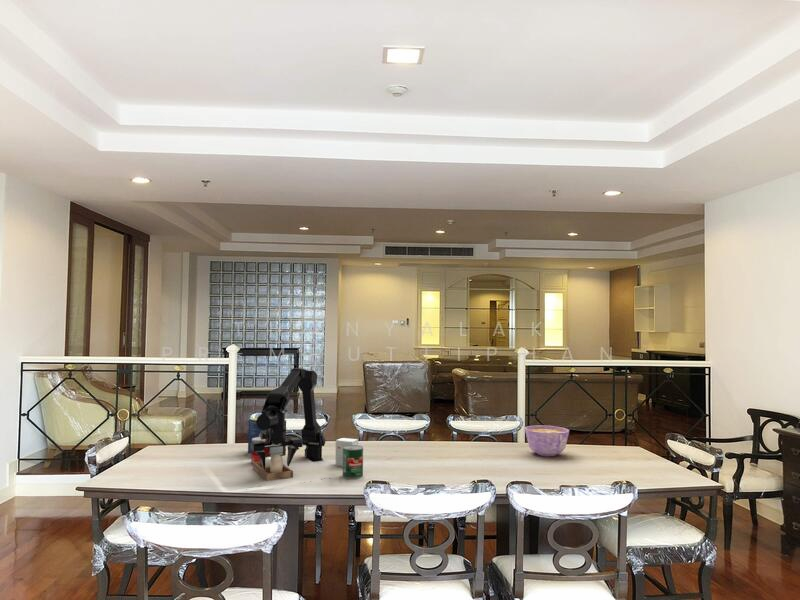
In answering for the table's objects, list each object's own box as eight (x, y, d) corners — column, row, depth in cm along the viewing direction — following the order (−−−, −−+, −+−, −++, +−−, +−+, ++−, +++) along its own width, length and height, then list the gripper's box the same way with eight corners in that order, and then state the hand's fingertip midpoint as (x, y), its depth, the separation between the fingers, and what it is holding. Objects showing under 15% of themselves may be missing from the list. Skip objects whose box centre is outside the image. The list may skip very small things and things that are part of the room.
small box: (358, 464, 232) (358, 439, 233) (351, 467, 227) (352, 441, 228) (341, 462, 236) (342, 437, 236) (335, 465, 231) (335, 439, 231)
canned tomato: (352, 472, 220) (353, 444, 220) (367, 475, 215) (367, 447, 215) (338, 476, 214) (338, 447, 214) (352, 480, 209) (353, 450, 209)
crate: (277, 468, 224) (277, 459, 224) (292, 480, 207) (292, 471, 207) (252, 471, 219) (253, 462, 219) (266, 483, 202) (267, 474, 202)
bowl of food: (575, 459, 245) (574, 433, 246) (529, 459, 246) (529, 432, 246) (562, 450, 265) (562, 425, 266) (520, 449, 266) (520, 425, 266)
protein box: (267, 449, 259) (267, 416, 260) (286, 455, 249) (286, 420, 250) (247, 453, 252) (248, 418, 253) (265, 458, 241) (266, 422, 242)
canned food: (265, 468, 224) (266, 440, 225) (247, 467, 226) (248, 439, 227) (273, 464, 232) (274, 437, 233) (256, 462, 234) (256, 436, 234)
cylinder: (280, 473, 212) (280, 452, 212) (283, 476, 208) (284, 455, 208) (268, 475, 210) (268, 453, 210) (271, 477, 206) (272, 456, 206)
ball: (273, 467, 221) (273, 455, 221) (276, 470, 216) (277, 457, 217) (260, 469, 218) (260, 456, 219) (264, 472, 214) (264, 459, 214)
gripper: (294, 420, 221) (293, 460, 221) (246, 424, 212) (245, 465, 212) (303, 425, 212) (302, 466, 211) (254, 428, 203) (253, 472, 202)
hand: (276, 467), depth 209 cm, fingers open, 9 cm apart
